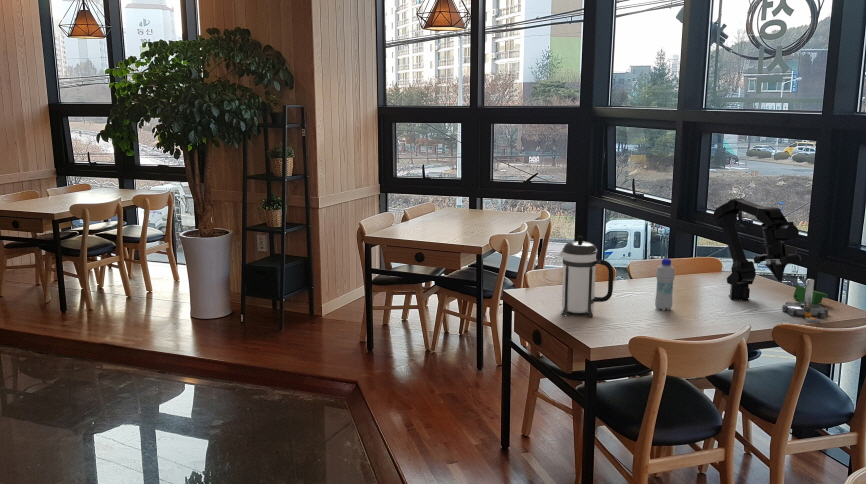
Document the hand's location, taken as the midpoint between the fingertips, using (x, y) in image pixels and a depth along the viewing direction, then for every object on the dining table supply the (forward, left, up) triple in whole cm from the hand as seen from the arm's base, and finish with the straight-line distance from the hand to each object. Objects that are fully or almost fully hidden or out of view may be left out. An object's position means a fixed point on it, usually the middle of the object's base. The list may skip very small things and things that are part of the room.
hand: (780, 281), depth 270 cm
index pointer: (+9, -11, -12) cm, 19 cm away
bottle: (-42, -6, -12) cm, 44 cm away
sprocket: (+9, -1, -12) cm, 15 cm away
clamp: (+15, +15, -12) cm, 24 cm away
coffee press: (-73, -17, -12) cm, 76 cm away
